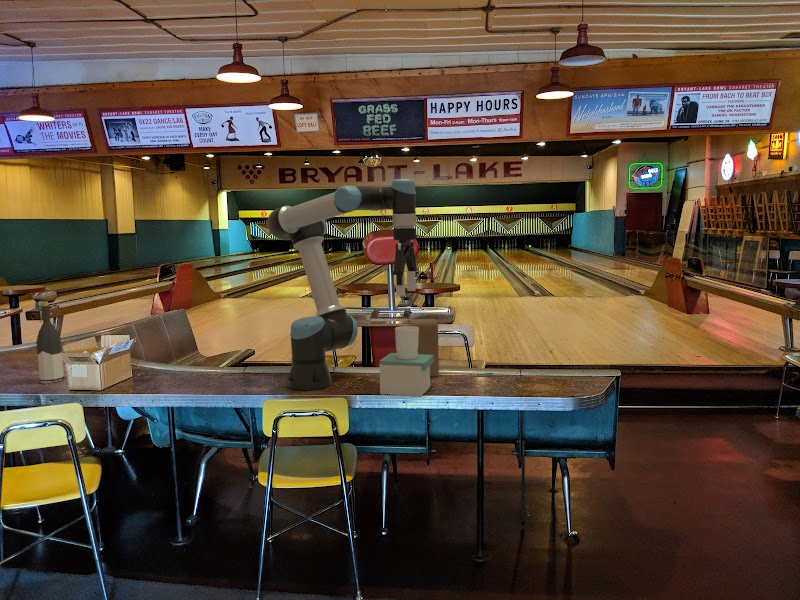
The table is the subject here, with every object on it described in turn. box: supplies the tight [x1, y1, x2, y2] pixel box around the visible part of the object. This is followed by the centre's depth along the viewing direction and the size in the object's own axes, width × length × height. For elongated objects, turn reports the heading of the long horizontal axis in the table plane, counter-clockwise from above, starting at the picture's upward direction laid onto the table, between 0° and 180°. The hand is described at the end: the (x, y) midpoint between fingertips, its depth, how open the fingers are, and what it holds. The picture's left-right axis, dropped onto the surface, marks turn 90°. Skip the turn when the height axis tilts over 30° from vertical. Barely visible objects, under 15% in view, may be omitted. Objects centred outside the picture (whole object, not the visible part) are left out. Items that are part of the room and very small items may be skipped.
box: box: [379, 363, 431, 397], centre depth 210 cm, size 14×12×10 cm
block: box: [409, 318, 440, 378], centre depth 231 cm, size 10×10×20 cm
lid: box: [379, 352, 433, 371], centre depth 210 cm, size 15×13×2 cm
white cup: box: [394, 325, 419, 360], centre depth 209 cm, size 8×8×10 cm
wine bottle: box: [35, 301, 65, 381], centre depth 235 cm, size 8×8×30 cm
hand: (406, 293), depth 207 cm, fingers open, 13 cm apart
